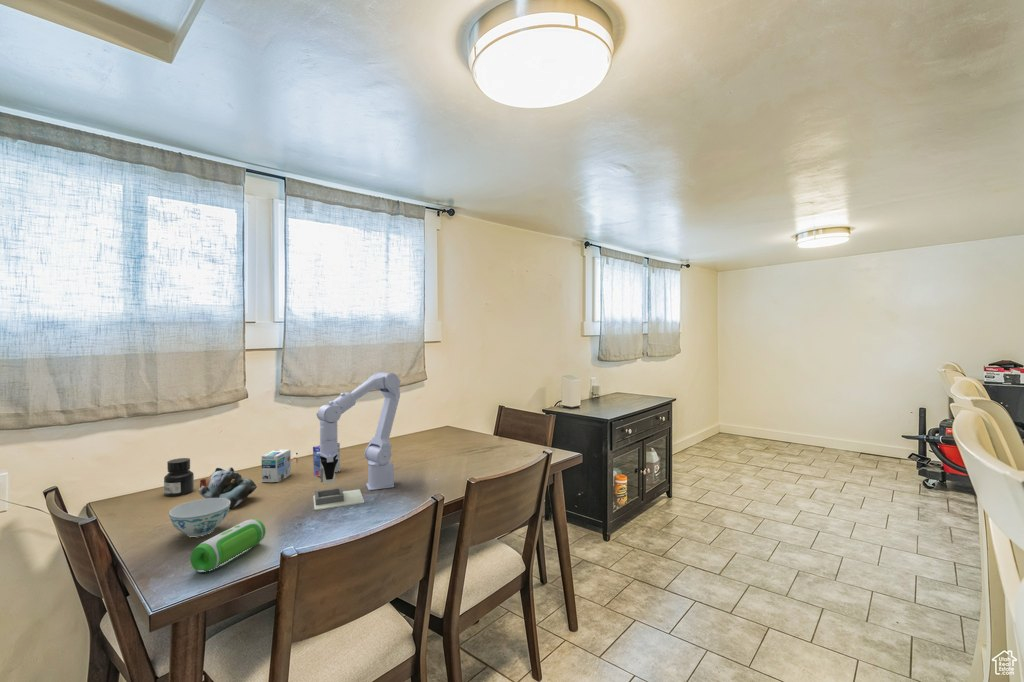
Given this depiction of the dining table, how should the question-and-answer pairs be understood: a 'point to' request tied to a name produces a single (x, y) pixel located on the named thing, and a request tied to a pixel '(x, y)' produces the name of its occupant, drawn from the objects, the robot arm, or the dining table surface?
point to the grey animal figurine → (227, 486)
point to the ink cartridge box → (318, 461)
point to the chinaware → (199, 515)
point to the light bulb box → (276, 465)
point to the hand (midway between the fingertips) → (329, 477)
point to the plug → (323, 478)
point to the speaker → (227, 545)
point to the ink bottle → (178, 477)
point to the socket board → (336, 498)
